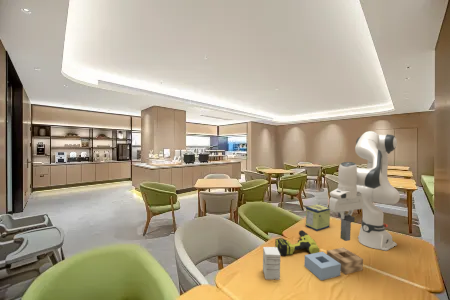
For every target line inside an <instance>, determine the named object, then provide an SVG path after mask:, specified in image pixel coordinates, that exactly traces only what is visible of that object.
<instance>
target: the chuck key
mask: <svg viewBox="0 0 450 300" xmlns="http://www.w3.org/2000/svg"><path fill="white" fill-rule="evenodd" d="M337 214H338V216H337V217H338V218H340V239H341V240H343V241H345V242H347V241H350V240H351V230H352V229H351V227H352V223H355V221H356V219H355V217H354V216H352V215H351V216H350V215H348V213H346V212H345V213H344V215H345V216H346V219H342V218H341V214H340V212H337Z"/></svg>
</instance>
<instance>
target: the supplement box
mask: <svg viewBox="0 0 450 300" xmlns="http://www.w3.org/2000/svg"><path fill="white" fill-rule="evenodd" d="M262 248H263V250H262V251H263V252H262V255H263V256H262V272H263V275H264V279H265V280H274V279H275V280H281V255H280V253H279V251H278V249H277V247H276V246H263V247H262Z"/></svg>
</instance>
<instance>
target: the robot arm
mask: <svg viewBox="0 0 450 300" xmlns="http://www.w3.org/2000/svg"><path fill="white" fill-rule="evenodd" d="M397 145H398V140H397V137H396V136H395V135H394V134H389V133H387V134H378V133H377V132H376V131H372V130H369V131H365V132H364V133H362V135H361V136H359V137H357V139H356V141H355V148H354V150H355V151H354V152H355V154H356V155H357V156H358V157H359V158H361V159H362V160H363V159H364V160H367V163H366V164H367V165H366V168H365V167H357V163H355V162H353V161H344V162H341V163H339V167H338V168H339V169H338V174H337V175H338V177H337V179H338V184H337V188H336V189H334V190H332V191H330V192H329V196H330V198H329V199H328V200H329V202H328V207H329V209H330V212H332V213H339V212H340V214H341V218H342V219H346V216H345V215H344V213H345V214H346V212H347V214H348V215H350V216H352V215H353V213H354V211H355V210H362V220H361V226H360V229H359V234H358V236H357V238H358V242H359V243H360V244H361V245H364V246H365V247H368V248H372V249H376V250H382V251H389V250H390V249H392V248H394V246H395V247H396V246H397V245H398V244H397V243H396V241H393V236H392V234H391V233H390V232H388V231H387V230H386V228H388V226H389V224H387V223H384V212H383V210H382V209H381V208H380V207H378V206H376V205H375V204H374V203H379V204H383V205H384V204H385V205H395V204H397V203H399V201H400V198H401V195H400V192H399V190H398V189H396V188H395V187H394V186H393V185H392V184H391V183H390V181H389V178H388V168H389V167H388V166H389V157H388V156H389V154H391V153H392V152H393V151H394V150H396V148H397ZM341 218H340V219H341Z"/></svg>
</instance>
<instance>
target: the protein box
mask: <svg viewBox="0 0 450 300" xmlns="http://www.w3.org/2000/svg"><path fill="white" fill-rule="evenodd" d="M330 215H331V211H330V209H329V206H325V205H322V204H319V203H318V204H317V203H316V204H314V205H310V206H306V207H305V227H306V228H309V229H311V230H313V231H315V232H318V231H322V230H326V229H328V228H330V222H331V221H330V220H331V219H330V218H331V216H330Z"/></svg>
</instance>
